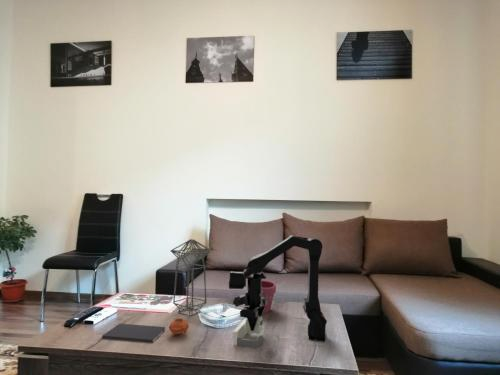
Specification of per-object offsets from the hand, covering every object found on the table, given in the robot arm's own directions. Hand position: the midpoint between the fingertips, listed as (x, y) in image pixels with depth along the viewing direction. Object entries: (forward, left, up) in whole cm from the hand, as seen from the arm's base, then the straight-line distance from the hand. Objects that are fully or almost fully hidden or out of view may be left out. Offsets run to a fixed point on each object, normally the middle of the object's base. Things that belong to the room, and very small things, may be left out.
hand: (254, 328), depth 137 cm
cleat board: (0, +3, -3) cm, 4 cm away
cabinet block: (0, 0, -1) cm, 1 cm away
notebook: (+47, +13, -4) cm, 49 cm away
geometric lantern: (+38, -18, -4) cm, 42 cm away
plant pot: (+6, -31, -4) cm, 32 cm away
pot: (+30, +8, -4) cm, 31 cm away
